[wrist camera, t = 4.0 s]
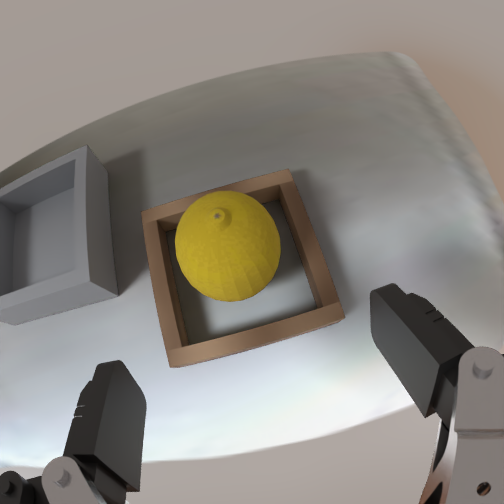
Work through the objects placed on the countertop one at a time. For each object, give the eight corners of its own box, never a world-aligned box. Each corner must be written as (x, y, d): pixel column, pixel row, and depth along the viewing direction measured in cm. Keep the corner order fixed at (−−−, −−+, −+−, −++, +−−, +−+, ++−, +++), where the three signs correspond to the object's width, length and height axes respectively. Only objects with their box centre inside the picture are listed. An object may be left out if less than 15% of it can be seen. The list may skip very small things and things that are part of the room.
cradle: (179, 367, 19) (169, 367, 17) (150, 223, 22) (140, 211, 21) (338, 322, 19) (345, 317, 17) (287, 184, 23) (288, 168, 21)
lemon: (201, 318, 20) (159, 289, 12) (191, 239, 22) (153, 176, 14) (287, 303, 20) (296, 264, 12) (270, 224, 22) (268, 152, 14)
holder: (14, 325, 20) (-18, 315, 16) (16, 213, 24) (-9, 194, 20) (118, 296, 21) (89, 281, 17) (107, 172, 24) (87, 144, 21)
